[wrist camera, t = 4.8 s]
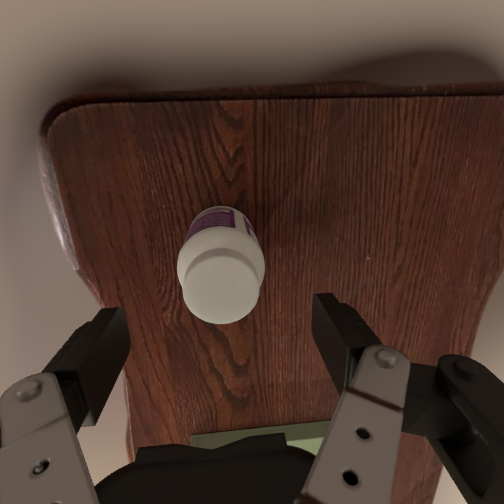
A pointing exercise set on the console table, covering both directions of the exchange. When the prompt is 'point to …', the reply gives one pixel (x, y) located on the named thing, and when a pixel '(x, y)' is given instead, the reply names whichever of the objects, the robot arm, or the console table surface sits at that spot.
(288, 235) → the console table surface
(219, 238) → the pill bottle
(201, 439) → the tray
